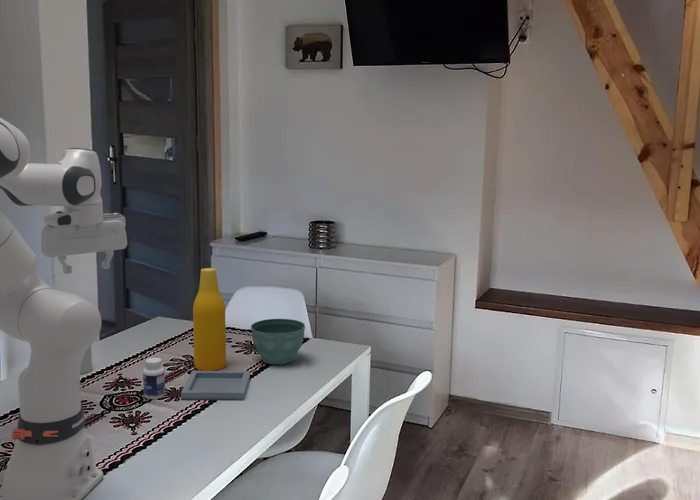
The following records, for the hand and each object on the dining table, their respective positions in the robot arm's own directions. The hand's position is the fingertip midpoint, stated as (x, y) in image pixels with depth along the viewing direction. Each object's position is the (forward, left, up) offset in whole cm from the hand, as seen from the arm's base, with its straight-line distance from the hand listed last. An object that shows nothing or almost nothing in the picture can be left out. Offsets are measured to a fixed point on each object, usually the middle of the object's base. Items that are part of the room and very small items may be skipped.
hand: (86, 270), depth 175 cm
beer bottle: (+26, -25, -34) cm, 50 cm away
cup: (+22, +12, -34) cm, 43 cm away
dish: (+9, -30, -34) cm, 46 cm away
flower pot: (+32, -45, -34) cm, 65 cm away
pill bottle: (+4, -14, -34) cm, 38 cm away
